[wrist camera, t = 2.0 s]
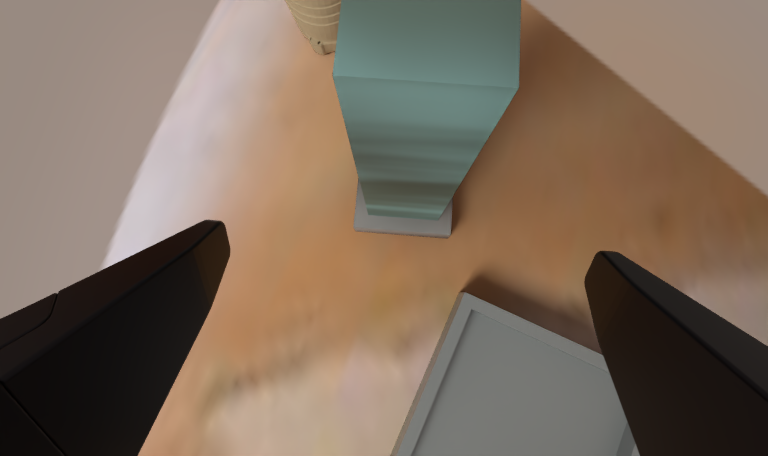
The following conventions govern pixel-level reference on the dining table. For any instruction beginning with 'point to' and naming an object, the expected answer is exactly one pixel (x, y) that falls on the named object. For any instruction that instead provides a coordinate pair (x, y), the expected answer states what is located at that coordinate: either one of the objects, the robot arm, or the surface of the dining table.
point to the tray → (512, 393)
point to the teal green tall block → (421, 101)
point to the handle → (317, 22)
